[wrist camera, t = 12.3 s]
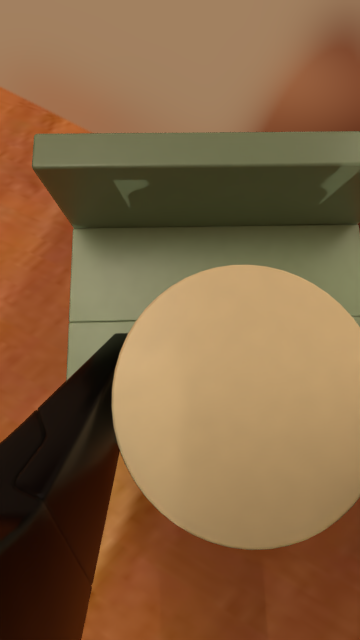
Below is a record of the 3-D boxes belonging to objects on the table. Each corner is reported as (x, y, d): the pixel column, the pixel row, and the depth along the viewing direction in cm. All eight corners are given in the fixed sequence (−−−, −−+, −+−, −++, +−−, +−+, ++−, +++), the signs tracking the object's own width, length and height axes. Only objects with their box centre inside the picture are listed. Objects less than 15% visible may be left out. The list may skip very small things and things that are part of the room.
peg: (220, 458, 16) (307, 620, 5) (130, 398, 16) (53, 440, 6) (273, 366, 17) (433, 353, 6) (187, 312, 17) (205, 217, 7)
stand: (285, 405, 19) (518, 471, 6) (113, 409, 19) (-20, 488, 6) (275, 282, 20) (444, 129, 8) (115, 285, 20) (12, 132, 7)
